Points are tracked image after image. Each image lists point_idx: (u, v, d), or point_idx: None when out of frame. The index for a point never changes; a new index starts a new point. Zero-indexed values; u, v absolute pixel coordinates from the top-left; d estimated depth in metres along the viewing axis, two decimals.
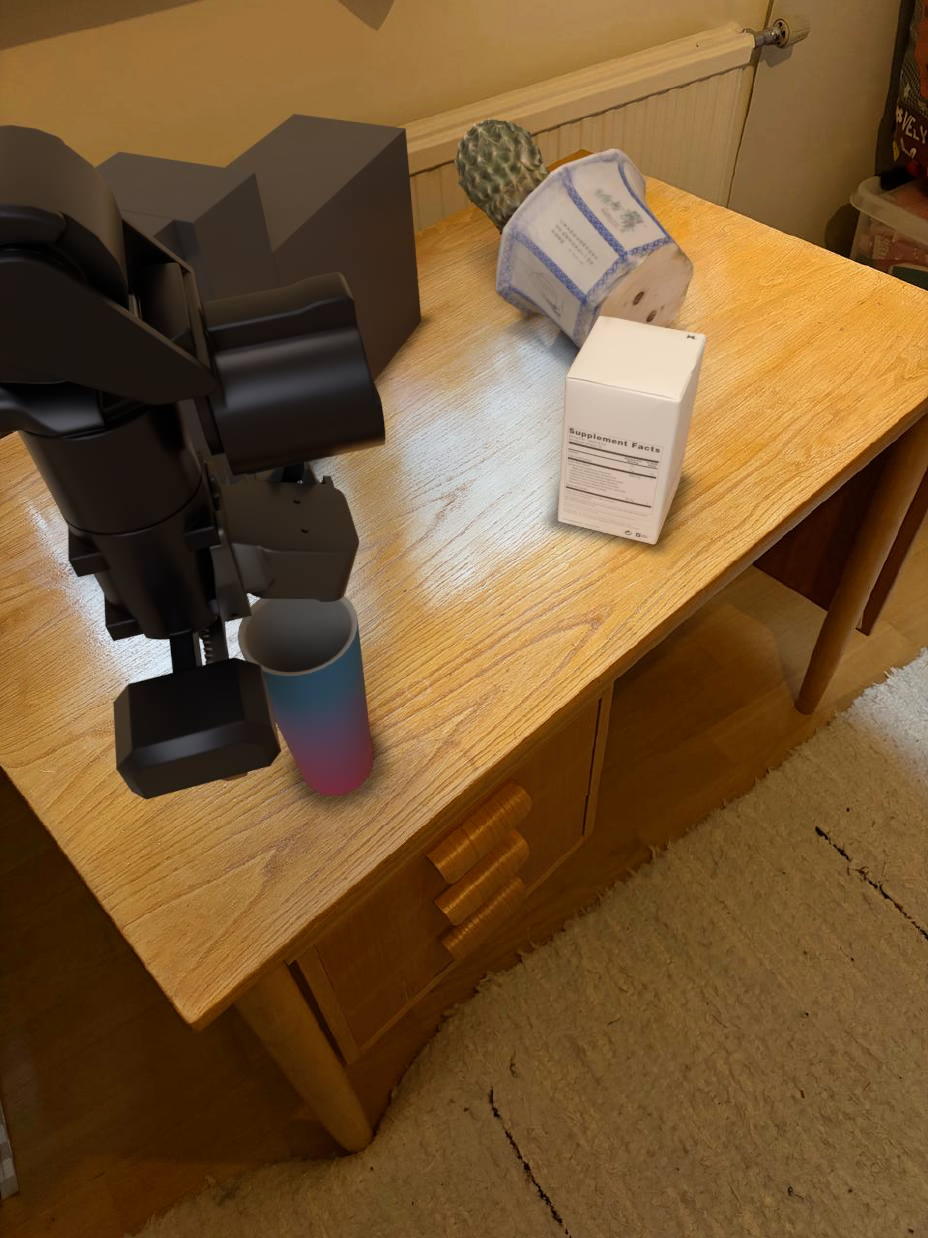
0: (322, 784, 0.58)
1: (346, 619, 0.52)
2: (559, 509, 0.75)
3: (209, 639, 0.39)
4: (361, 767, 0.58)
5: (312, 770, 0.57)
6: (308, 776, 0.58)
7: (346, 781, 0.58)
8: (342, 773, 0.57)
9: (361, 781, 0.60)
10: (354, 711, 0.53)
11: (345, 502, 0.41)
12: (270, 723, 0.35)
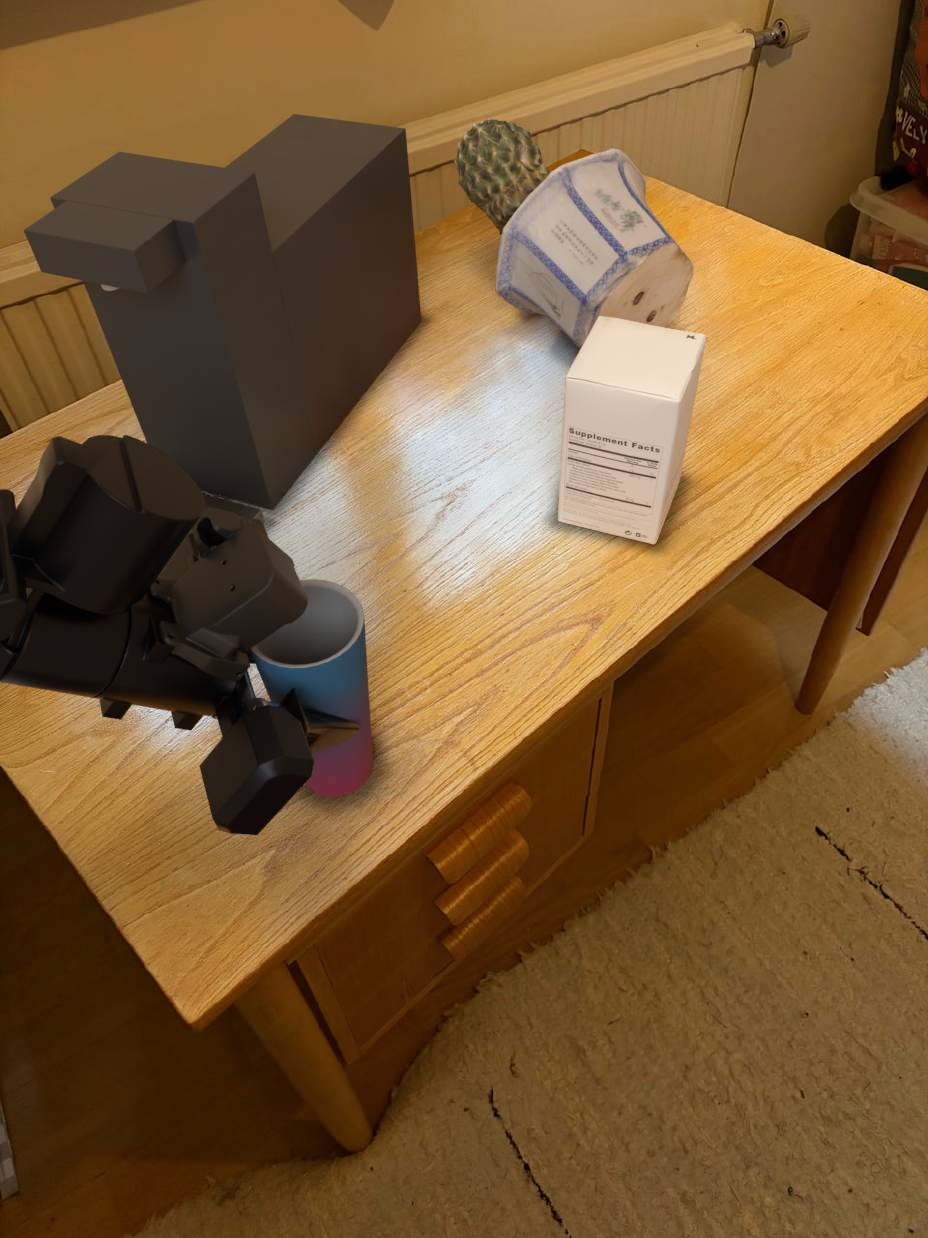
0: (322, 784, 0.58)
1: (352, 615, 0.52)
2: (559, 509, 0.75)
3: None
4: (361, 768, 0.58)
5: None
6: None
7: (346, 782, 0.58)
8: (343, 773, 0.57)
9: (361, 783, 0.59)
10: (357, 708, 0.53)
11: (258, 536, 0.45)
12: (282, 753, 0.43)
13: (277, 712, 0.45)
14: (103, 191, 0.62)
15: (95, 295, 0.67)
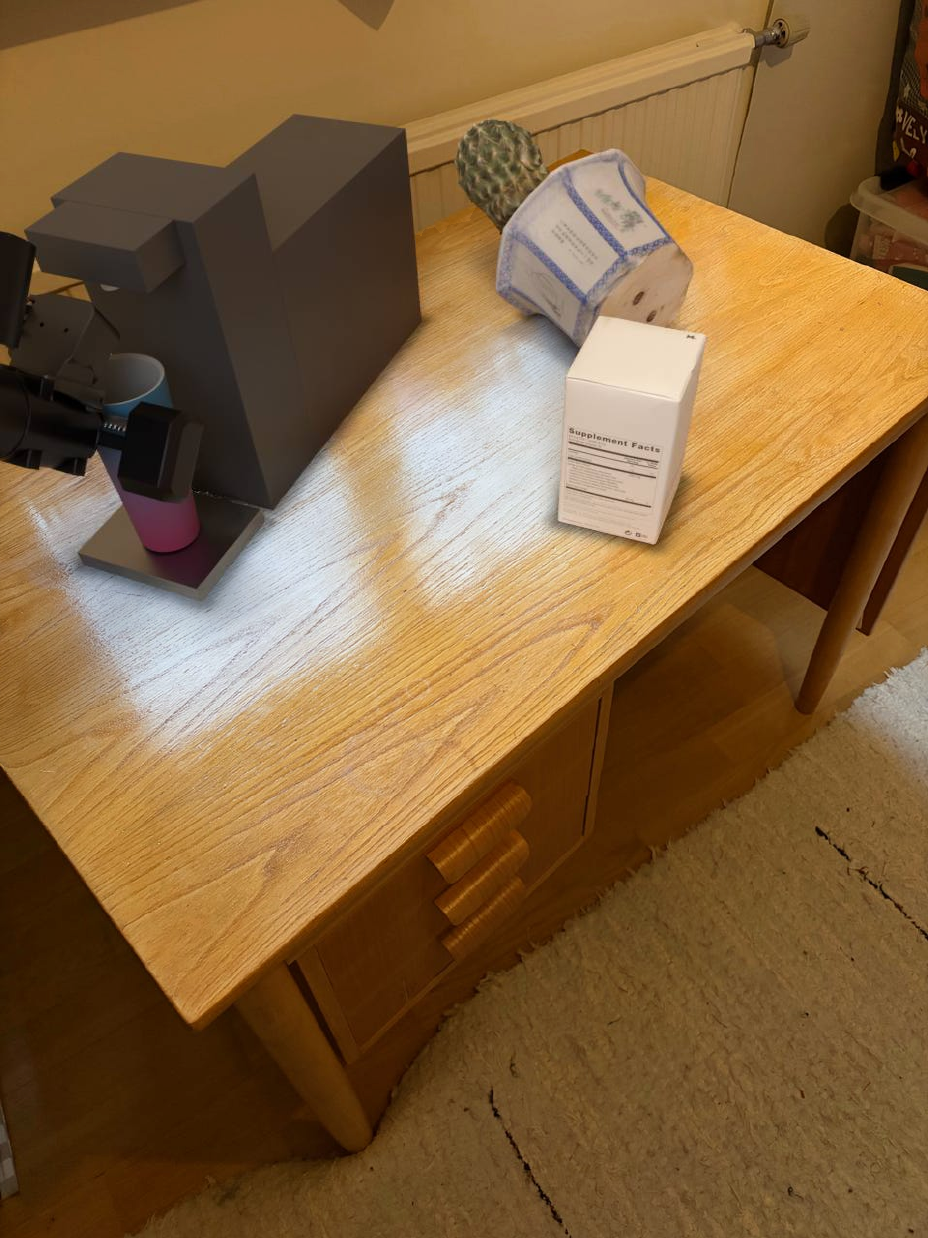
0: (177, 534, 0.72)
1: (139, 372, 0.66)
2: (559, 509, 0.75)
3: (109, 423, 0.60)
4: (195, 509, 0.73)
5: (167, 519, 0.70)
6: (164, 531, 0.71)
7: (192, 524, 0.73)
8: (188, 514, 0.72)
9: (199, 526, 0.74)
10: None
11: (55, 294, 0.58)
12: (179, 410, 0.58)
13: None
14: (103, 191, 0.62)
15: (95, 295, 0.67)
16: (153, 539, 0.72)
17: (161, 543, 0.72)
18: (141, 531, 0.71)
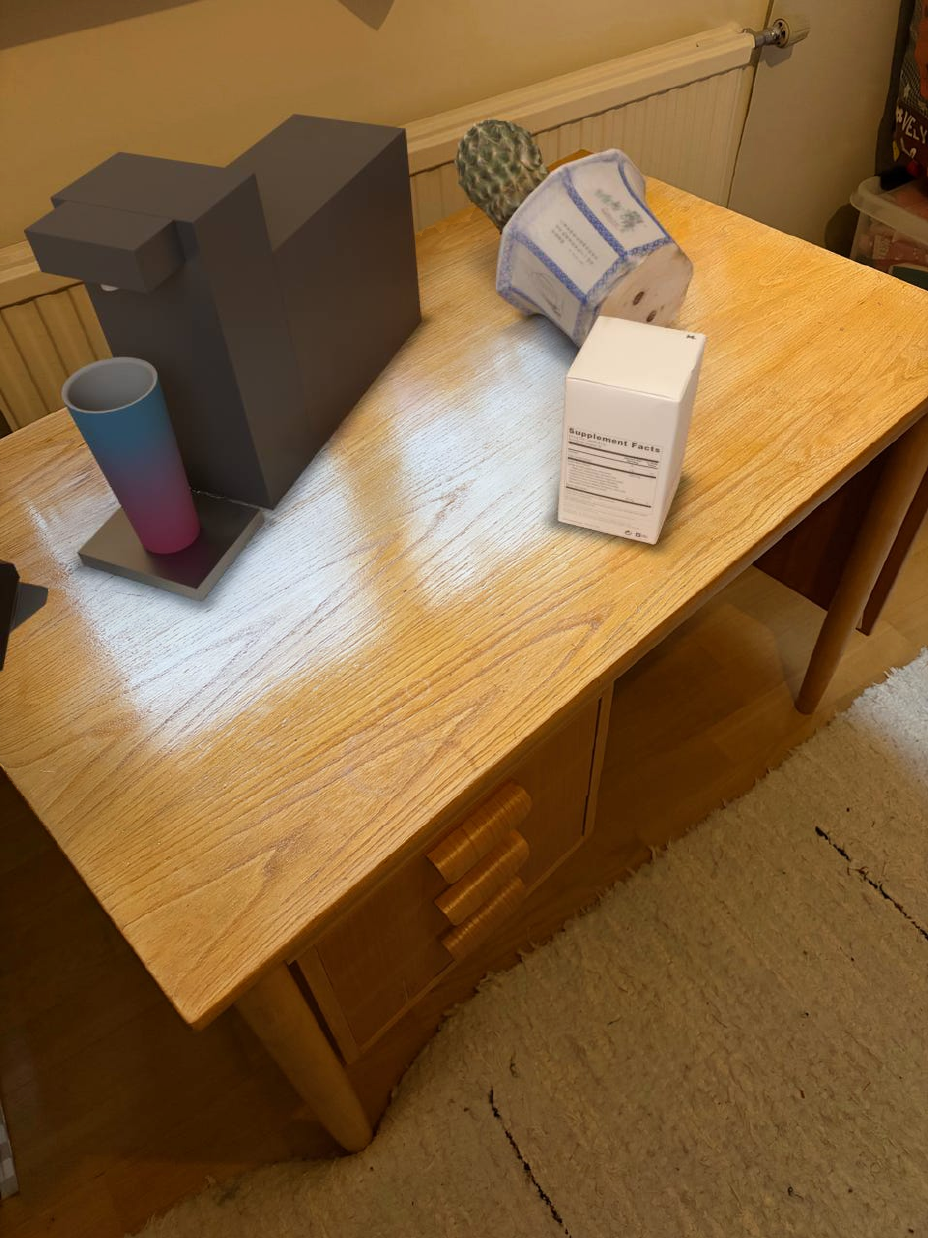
0: (176, 536, 0.72)
1: (132, 376, 0.66)
2: (559, 509, 0.75)
3: None
4: (194, 510, 0.73)
5: (166, 521, 0.70)
6: (164, 534, 0.71)
7: (191, 525, 0.73)
8: (187, 515, 0.72)
9: (198, 527, 0.74)
10: (176, 444, 0.68)
11: None
12: None
13: None
14: (103, 191, 0.62)
15: (95, 295, 0.67)
16: (153, 541, 0.72)
17: (161, 545, 0.72)
18: (141, 534, 0.71)
